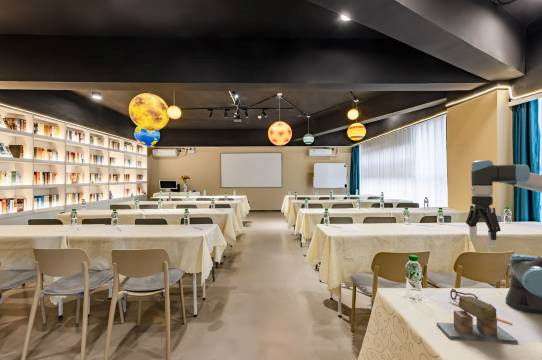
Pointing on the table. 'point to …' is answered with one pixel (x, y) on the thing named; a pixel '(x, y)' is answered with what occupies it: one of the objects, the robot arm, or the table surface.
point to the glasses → (461, 293)
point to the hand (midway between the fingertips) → (482, 244)
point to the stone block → (477, 308)
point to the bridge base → (474, 329)
